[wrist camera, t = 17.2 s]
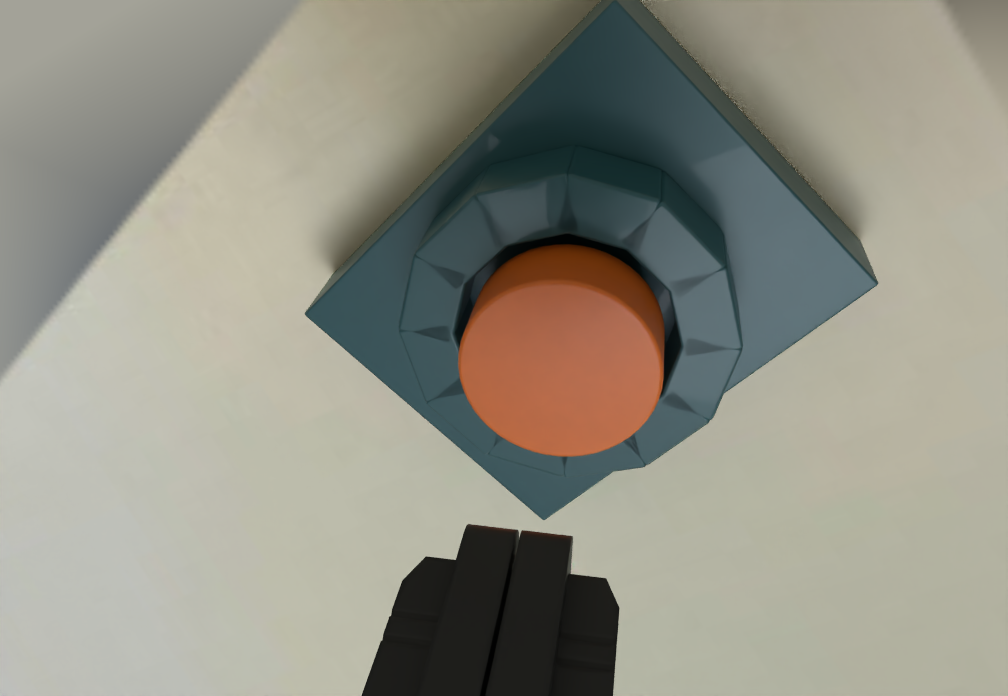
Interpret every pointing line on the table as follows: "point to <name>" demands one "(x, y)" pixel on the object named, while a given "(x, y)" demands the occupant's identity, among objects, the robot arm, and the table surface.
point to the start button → (564, 351)
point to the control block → (601, 242)
